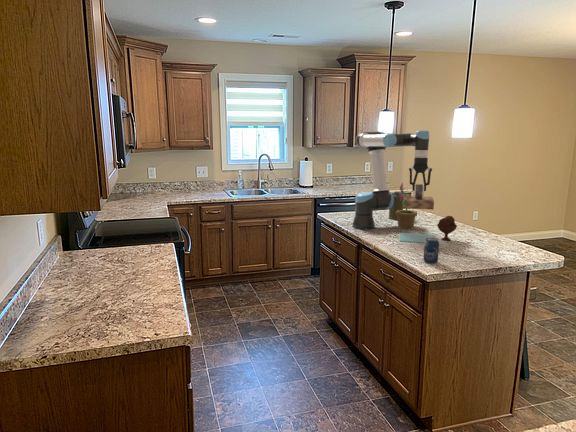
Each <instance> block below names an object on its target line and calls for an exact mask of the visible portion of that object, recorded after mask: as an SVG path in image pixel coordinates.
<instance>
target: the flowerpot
mask: <svg viewBox="0 0 576 432" xmlns="http://www.w3.org/2000/svg"><path fill="white" fill-rule="evenodd" d="M399 192H400V193H399V196H400V201H401V199H402V198H403V195H404V196H407V195H406V192H404V183H403V182H401V185H400V186H399ZM402 204H403V206H404V201H403V203H402ZM396 215H397V218H398V220H397V226H398V228H401V229H412V228H414V225H415V221H416V217H417V216H418V211H415V210H412V209H411V210H409V209H408V208H405V209H403V210H398V211H396Z"/></svg>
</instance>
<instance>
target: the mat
mask: <svg viewBox="0 0 576 432" xmlns="http://www.w3.org/2000/svg"><path fill="white" fill-rule="evenodd" d="M426 238H435V237H434V235H433V234H431V233H430V234H427V233H425V234H424V233H412V232H411V233H409V232H408V233H407V232H399V242H402V243H403V242H404V243H405V242H406V243H420V244H421V243H422V244H424V243H425V240H426Z"/></svg>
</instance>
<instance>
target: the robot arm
mask: <svg viewBox="0 0 576 432" xmlns="http://www.w3.org/2000/svg"><path fill="white" fill-rule="evenodd" d="M354 142H355V145H356V146H357V148H359V149H361V150H367V153H368V154H369V155H370V161H371V172H372V181H373V182H372V183H373V190H372V191H362V192H359V193H357V194H356V195H355V202H354V203H355V207H354V208H355V210H354V212H355V213H354V219H352V220H353V221H352V222H351V223H352V228H353V229H354V228H355V229H359V230H372V229H374V228H375V226H376V225H375V224H376V223H375V221H374V216H373V215H374V214H373V212H377V211H387V210H388V211H389V209H390V208H391V207H392V205H393V202H394V198H393V195H392V193H391V192H390V189H389V188H387V177H386V168H385V167H386V166H385V156H384V153H385V152H386V149H387V148H393V147H414V159H413V160H414V161H413V166H412V167H409V168H408V170H409V185H411V186H412V189H411V190H412V192H413V196H414V197H415V195H416V183H417V182H416V181H417V179H418V175H419V174H422V180H423V184H422V185H423V191H422V197H425V192H426V191H427V186H429V185H430V183H431V173H432V170H433V168H431V167H429V166H428V157H429V147H430V146H429V143H430V131H429V130H416V131H415V133H412V132H411V133H409V132H407V133H385V132H384V131H362V132H360V133H358V134H357V135H356V136H355V141H354ZM413 171H415V175H414V178H413ZM426 171H427V172H428V173H427V181H426V173H425V172H426Z"/></svg>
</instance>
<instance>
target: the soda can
mask: <svg viewBox="0 0 576 432" xmlns="http://www.w3.org/2000/svg"><path fill="white" fill-rule="evenodd" d="M423 244H424V246H423V261H424V263H425V264H428V265H429V264H430V265H435V264H437V263H438V261H439V251H440V250H439V249H440V242H439V239H438V238H435V237H434V238H426V240H425V243H423Z"/></svg>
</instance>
